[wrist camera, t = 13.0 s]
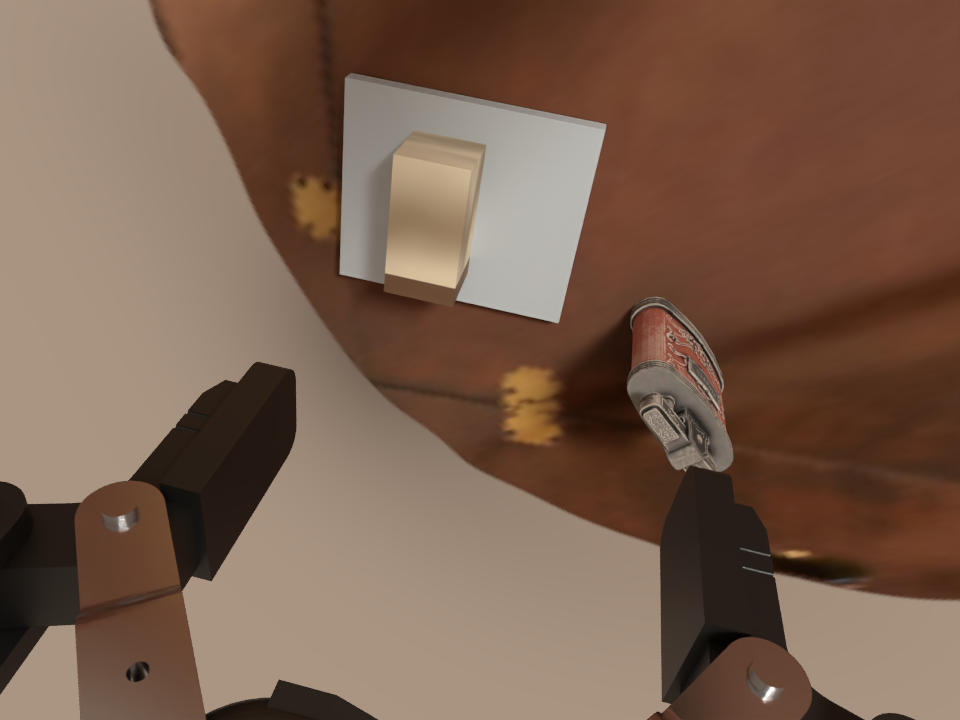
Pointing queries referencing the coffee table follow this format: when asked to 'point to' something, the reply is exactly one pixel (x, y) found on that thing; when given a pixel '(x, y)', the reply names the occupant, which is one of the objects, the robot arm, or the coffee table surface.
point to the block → (432, 216)
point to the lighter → (678, 387)
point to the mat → (503, 191)
